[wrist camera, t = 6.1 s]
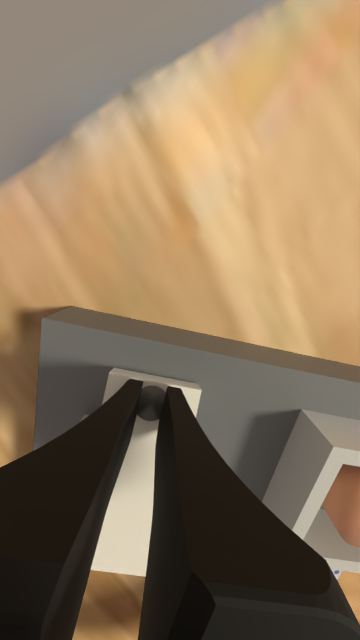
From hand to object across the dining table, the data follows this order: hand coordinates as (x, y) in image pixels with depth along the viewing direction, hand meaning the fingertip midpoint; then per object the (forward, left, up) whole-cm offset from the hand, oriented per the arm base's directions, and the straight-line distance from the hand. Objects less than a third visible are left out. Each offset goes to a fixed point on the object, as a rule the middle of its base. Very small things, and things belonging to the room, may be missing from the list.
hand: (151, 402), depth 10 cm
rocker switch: (-4, 0, 0) cm, 4 cm away
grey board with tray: (-4, -6, -5) cm, 8 cm away
